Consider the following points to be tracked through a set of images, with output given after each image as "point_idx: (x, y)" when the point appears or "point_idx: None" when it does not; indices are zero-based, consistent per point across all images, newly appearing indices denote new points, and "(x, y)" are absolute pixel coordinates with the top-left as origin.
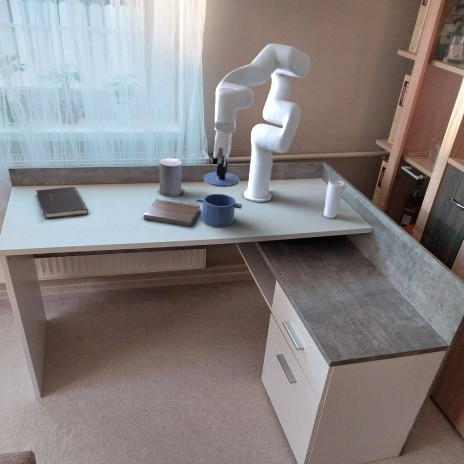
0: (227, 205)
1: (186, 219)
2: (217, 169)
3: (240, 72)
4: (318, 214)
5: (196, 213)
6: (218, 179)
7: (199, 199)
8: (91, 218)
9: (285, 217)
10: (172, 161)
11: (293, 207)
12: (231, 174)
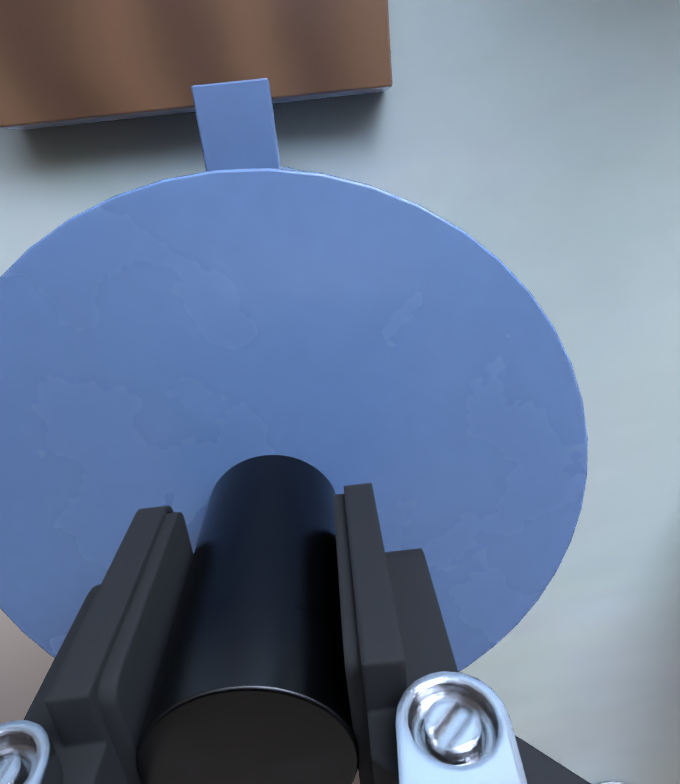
0: None
1: (21, 65)
2: (94, 615)
3: None
4: (607, 761)
5: None
6: (195, 483)
7: (210, 127)
8: None
9: (509, 652)
10: None
11: (667, 656)
12: (519, 583)
